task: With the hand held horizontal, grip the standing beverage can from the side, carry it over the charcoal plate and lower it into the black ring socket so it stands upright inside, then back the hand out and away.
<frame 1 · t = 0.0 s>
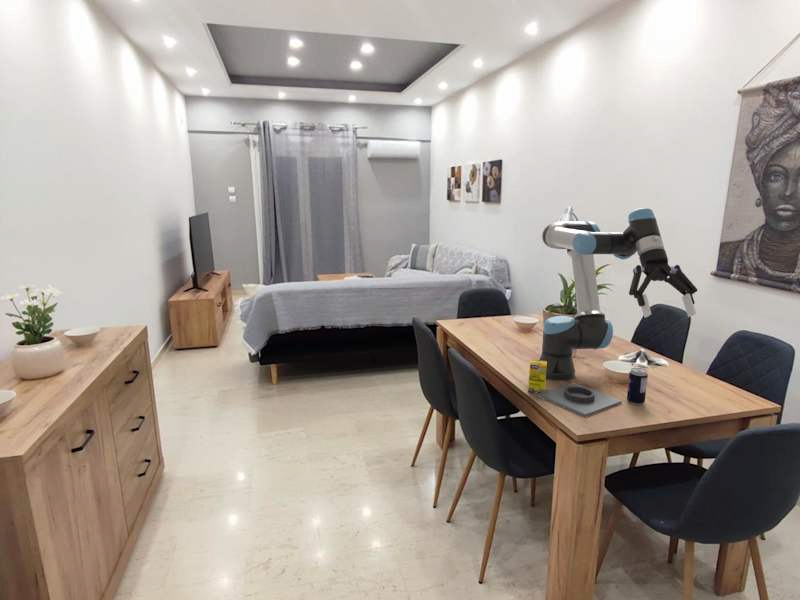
hand: (670, 315, 139), 36 cm above the table, tool tilted 35°, fingers open, 13 cm apart
supplement box: (536, 390, 176), on the table
cloth: (639, 361, 209), on the table
ring socket: (578, 399, 167), on the table
beverage can: (635, 403, 165), on the table
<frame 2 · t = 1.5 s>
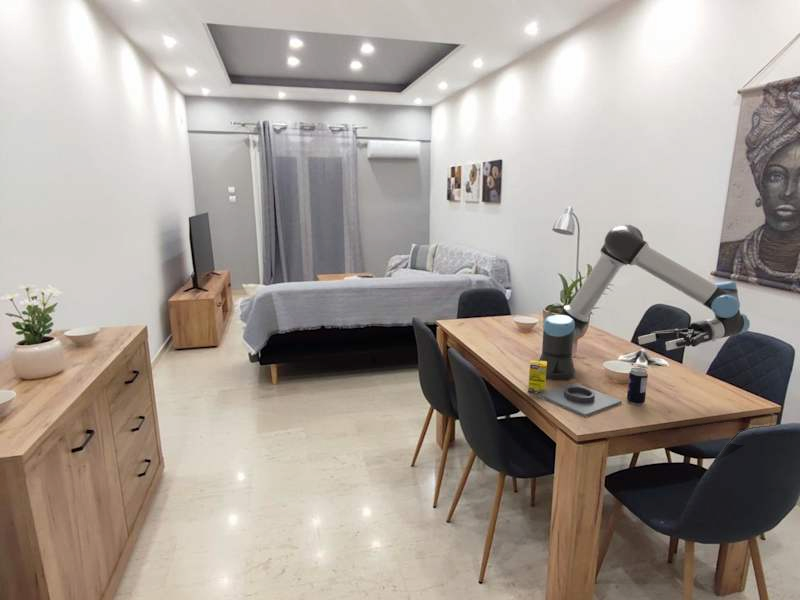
hand: (652, 343, 163), 21 cm above the table, tool horizontal, fingers open, 13 cm apart
nothing on the table moved.
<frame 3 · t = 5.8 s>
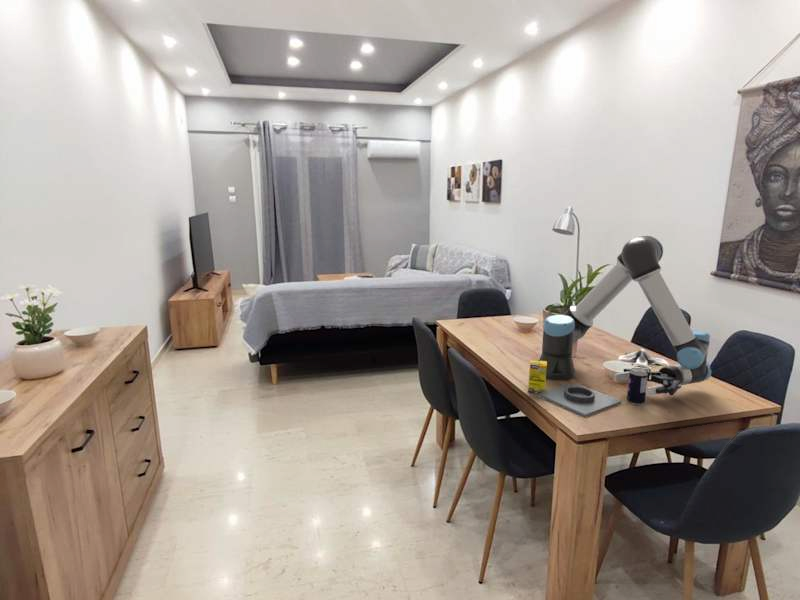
hand: (630, 384, 162), 7 cm above the table, tool horizontal, fingers open, 13 cm apart
nothing on the table moved.
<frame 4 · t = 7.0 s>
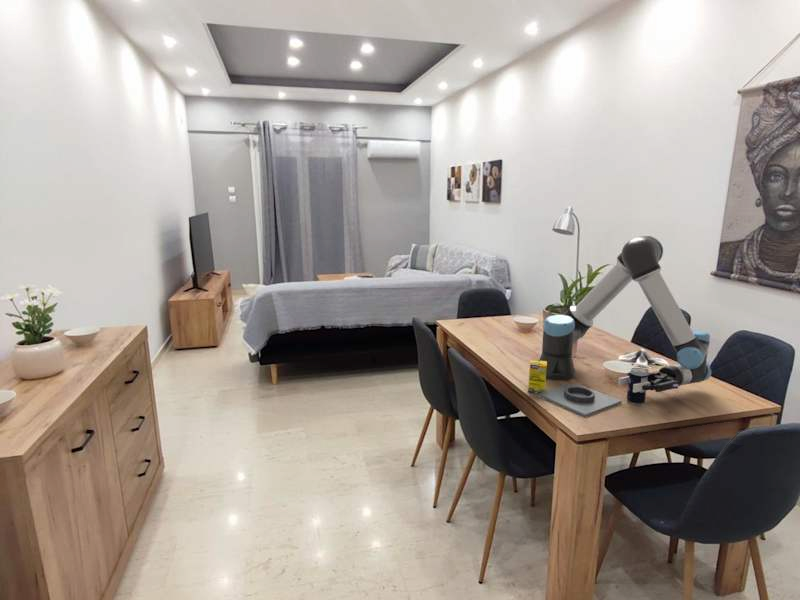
hand: (626, 385, 162), 7 cm above the table, tool horizontal, fingers closed on beverage can, 6 cm apart
beverage can: (635, 402, 165), on the table, touching gripper
everything else where it was.
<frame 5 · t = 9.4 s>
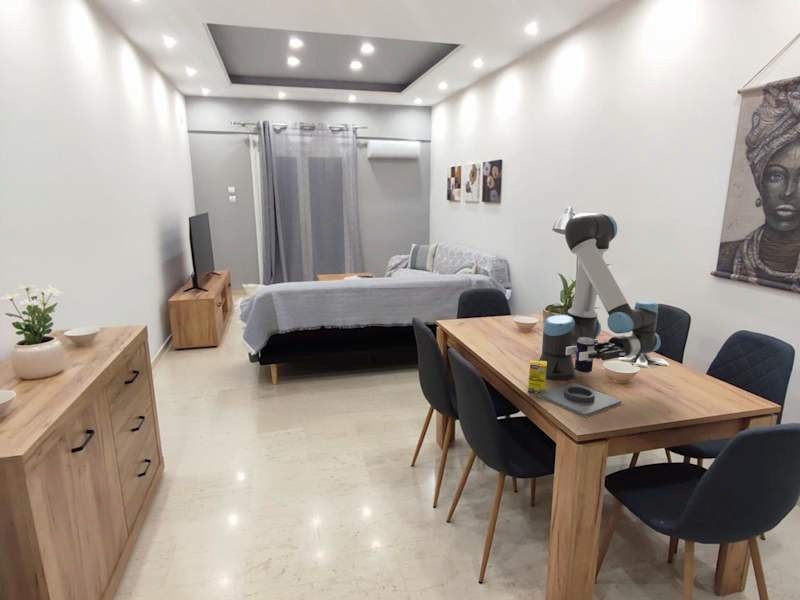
hand: (573, 353, 161), 18 cm above the table, tool horizontal, fingers closed on beverage can, 6 cm apart
beverage can: (582, 372, 165), point 10 cm above the table, touching gripper
everything else where it was.
when the fingers open (9 cm above the table, at t = 11.9 s): beverage can stays where it is, resting on ring socket.
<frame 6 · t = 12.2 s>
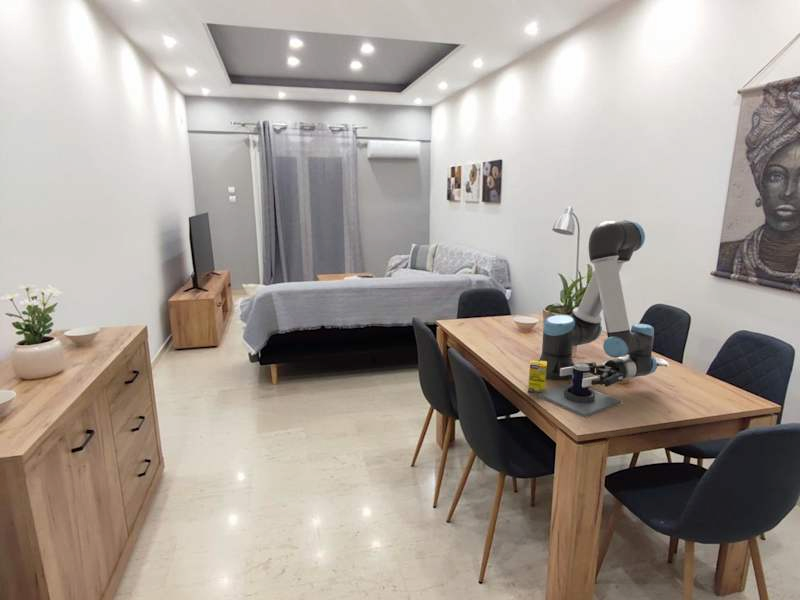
hand: (571, 377, 164), 9 cm above the table, tool horizontal, fingers open, 10 cm apart
beverage can: (579, 397, 167), point 1 cm above the table, touching ring socket
everything else where it was.
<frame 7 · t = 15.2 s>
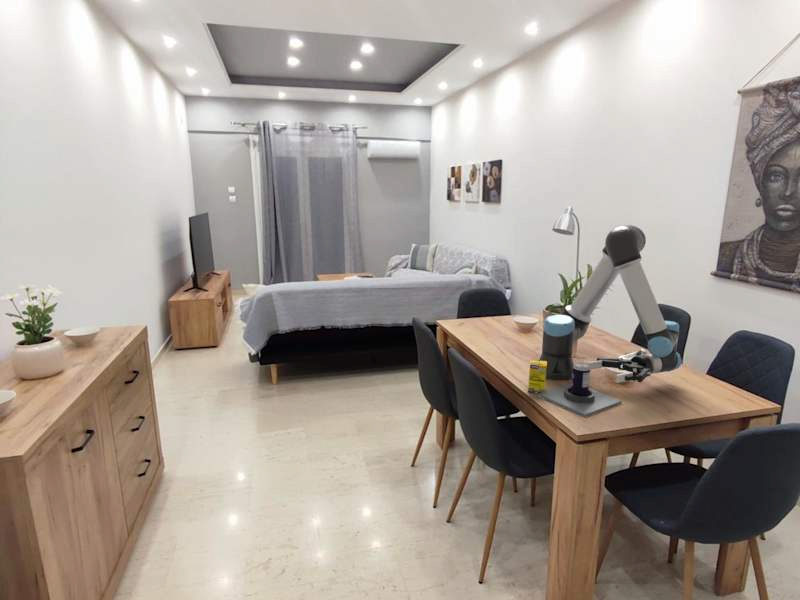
hand: (601, 372, 169), 9 cm above the table, tool horizontal, fingers open, 13 cm apart
nothing on the table moved.
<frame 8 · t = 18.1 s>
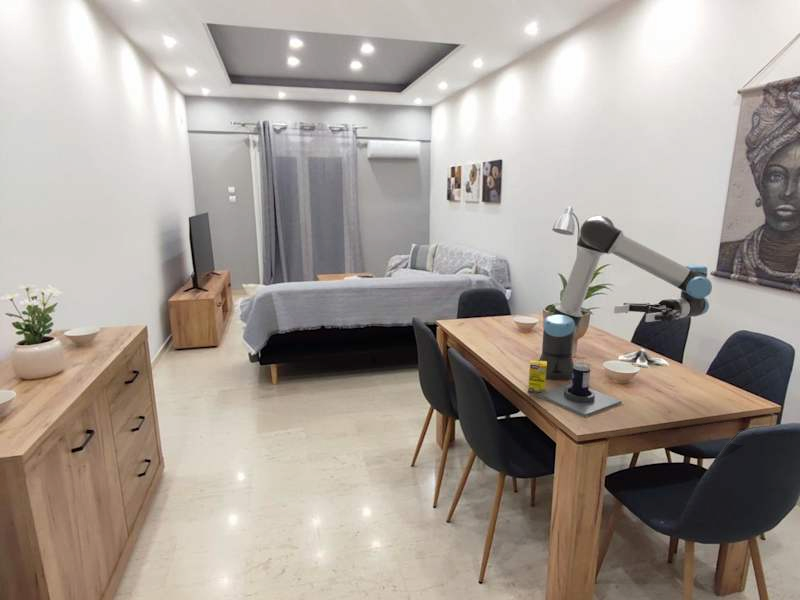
hand: (630, 313, 167), 30 cm above the table, tool horizontal, fingers open, 13 cm apart
nothing on the table moved.
at the end: beverage can 0.0 cm off-centre on the ring socket, point 0.8 cm above the ring socket's base; beverage can tilted 0°; the gripper is holding nothing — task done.
